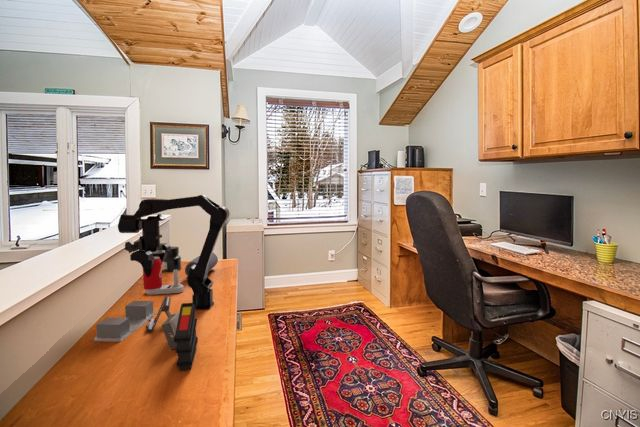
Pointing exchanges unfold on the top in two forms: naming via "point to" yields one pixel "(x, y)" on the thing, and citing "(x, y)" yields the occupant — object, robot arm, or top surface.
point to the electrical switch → (171, 329)
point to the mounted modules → (123, 319)
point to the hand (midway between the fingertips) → (152, 274)
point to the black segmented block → (186, 336)
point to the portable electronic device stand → (163, 308)
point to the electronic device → (169, 287)
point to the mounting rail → (134, 324)
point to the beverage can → (154, 276)
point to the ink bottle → (172, 260)
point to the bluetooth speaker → (211, 264)
